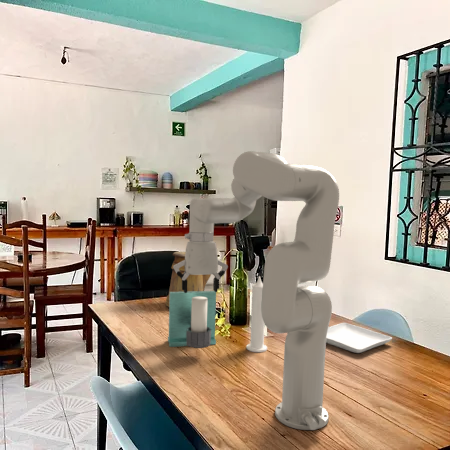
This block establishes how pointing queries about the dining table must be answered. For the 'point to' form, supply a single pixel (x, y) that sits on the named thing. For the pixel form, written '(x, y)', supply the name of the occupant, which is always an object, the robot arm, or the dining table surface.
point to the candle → (257, 320)
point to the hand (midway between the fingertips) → (200, 291)
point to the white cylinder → (199, 314)
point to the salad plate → (354, 337)
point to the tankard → (192, 280)
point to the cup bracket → (182, 320)
